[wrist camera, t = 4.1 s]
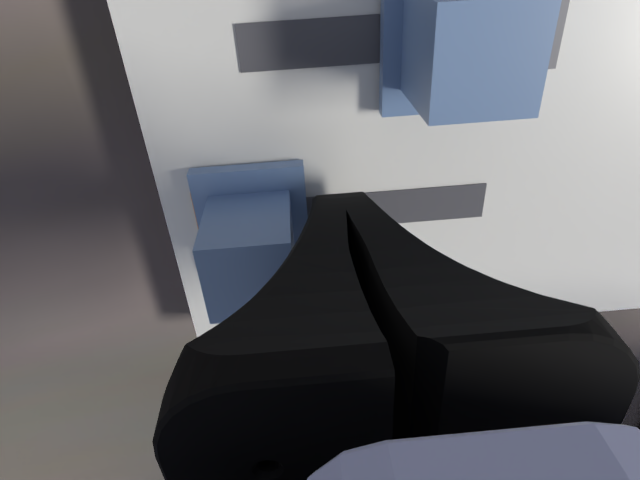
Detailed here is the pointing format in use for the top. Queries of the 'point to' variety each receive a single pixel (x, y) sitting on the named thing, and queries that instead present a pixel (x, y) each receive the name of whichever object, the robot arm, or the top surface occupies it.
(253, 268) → the switch tab
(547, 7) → the switch tab
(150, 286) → the top surface
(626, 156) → the switch board
